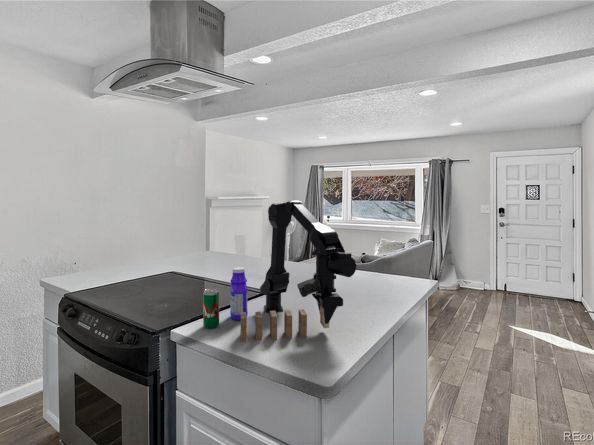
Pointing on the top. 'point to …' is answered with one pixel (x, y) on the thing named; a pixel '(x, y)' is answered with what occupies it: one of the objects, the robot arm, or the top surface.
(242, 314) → the domino
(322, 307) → the oak domino
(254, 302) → the top surface
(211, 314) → the soda can
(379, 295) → the top surface
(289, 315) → the domino
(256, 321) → the domino
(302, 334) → the domino
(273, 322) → the domino
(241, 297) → the bottle
